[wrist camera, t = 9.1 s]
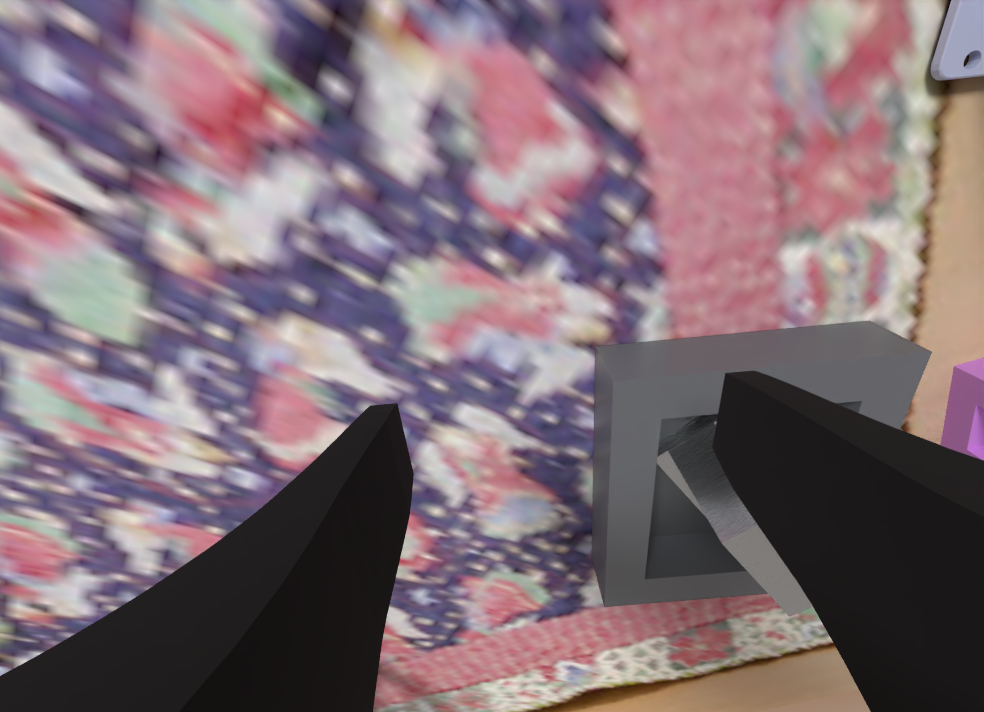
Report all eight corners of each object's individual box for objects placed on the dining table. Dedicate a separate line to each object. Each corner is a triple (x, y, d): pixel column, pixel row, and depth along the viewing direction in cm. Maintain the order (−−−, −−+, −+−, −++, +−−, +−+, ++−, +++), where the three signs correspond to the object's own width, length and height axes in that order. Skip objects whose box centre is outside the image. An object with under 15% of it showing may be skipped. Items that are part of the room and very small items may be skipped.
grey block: (720, 403, 20) (805, 499, 15) (775, 475, 23) (866, 582, 17) (647, 448, 22) (702, 553, 16) (706, 513, 24) (771, 624, 18)
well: (869, 320, 19) (931, 351, 17) (796, 540, 26) (833, 588, 23) (595, 346, 19) (613, 381, 17) (591, 557, 26) (604, 606, 23)
